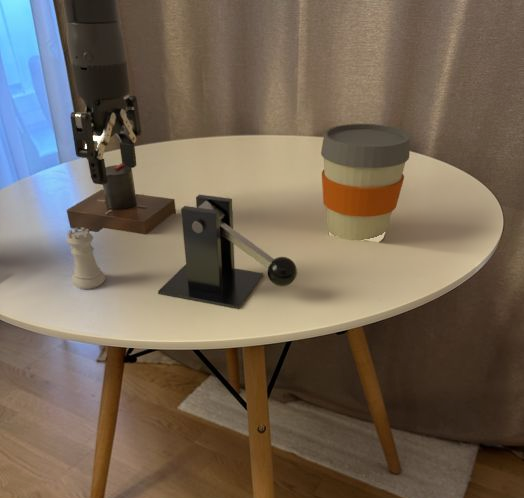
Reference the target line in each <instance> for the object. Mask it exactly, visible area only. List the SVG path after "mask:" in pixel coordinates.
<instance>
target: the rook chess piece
mask: <svg viewBox="0 0 524 498" xmlns="http://www.w3.org/2000/svg"><path fill="white" fill-rule="evenodd" d="M67 232H68V233H67V238H66V240H65V242H66V243H67V244H69V246H71V249H70V253H71V254H72V257H73V263H74V270H73V272H72V276H71V284H72V285H73V286H74V287H76V288H77V289H80V290H91V289H92V290H93V289H95V288H98V287H100V286H101V285H102V284H103V283H104V282H105V280H106V275H105V272H103V271H102V270H101V268H100V267H99V266H98V264H97V261H96V259H95V255H94V248H95V247H93V245H92V243H93V240H94V236H93V235H92V234H91V233H90V231H89V230H88V229H85V228H82V227H81V229H80V230H79V229H77V228H73V230H72V229H69V230H67Z"/></svg>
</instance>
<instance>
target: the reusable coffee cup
mask: <svg viewBox="0 0 524 498" xmlns="http://www.w3.org/2000/svg"><path fill="white" fill-rule="evenodd" d="M410 147H411V135H410V134H409V132H407V131H406V130H403V129H401V128H398V127H393V126H389V125H384V124H378V123H377V124H375V123H349V124H348V123H347V124H341V125H339V124H338V125H336V126H332V127H330V128H328V129H325V130H324V133H323V138H322V145H321V151H320V155H321V157H322V158H323V169H322V171H321V184H322V185H321V186H322V201H323V204H324V206H325V207H326V222H327V225H326V226H327V232H328V231H329V232H330V233H331V234H332V235H334V236H333V237H336V236H337V237H336V238H340V239H343V240H347V239H349V240H348V241H354V240H364V239H370V238H374V237H377V236H379V235H382V234H383V233H384V232H386V233H387V231H388V227H389V224H390V221H391V216H392V213H393V211H395V209H397V204H398V202H399V199H400V194H401V191H402V188H403V184H404V180H405V175H404V170H405V167H406V166H405V165H406V163H407V161H409V159H410V152H411V151H410V149H411V148H410ZM386 230H387V231H386Z"/></svg>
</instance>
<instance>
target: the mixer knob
mask: <svg viewBox="0 0 524 498" xmlns="http://www.w3.org/2000/svg"><path fill="white" fill-rule="evenodd" d="M105 168H106V175H107V183H106V184H104V185H102V189H103V190H104V195H105V201H106V206H107V207H108V208H111V209H127V208H130V207H133V206H135V205H136V203H137V202H136V195H135V194H136V188H135V182H134V181H135V180H134V174H133V168H131V167H129V166H125V164H124V163H122V162H121V163H119V164H116V165H115V164H114V165H108V166H105Z"/></svg>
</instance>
